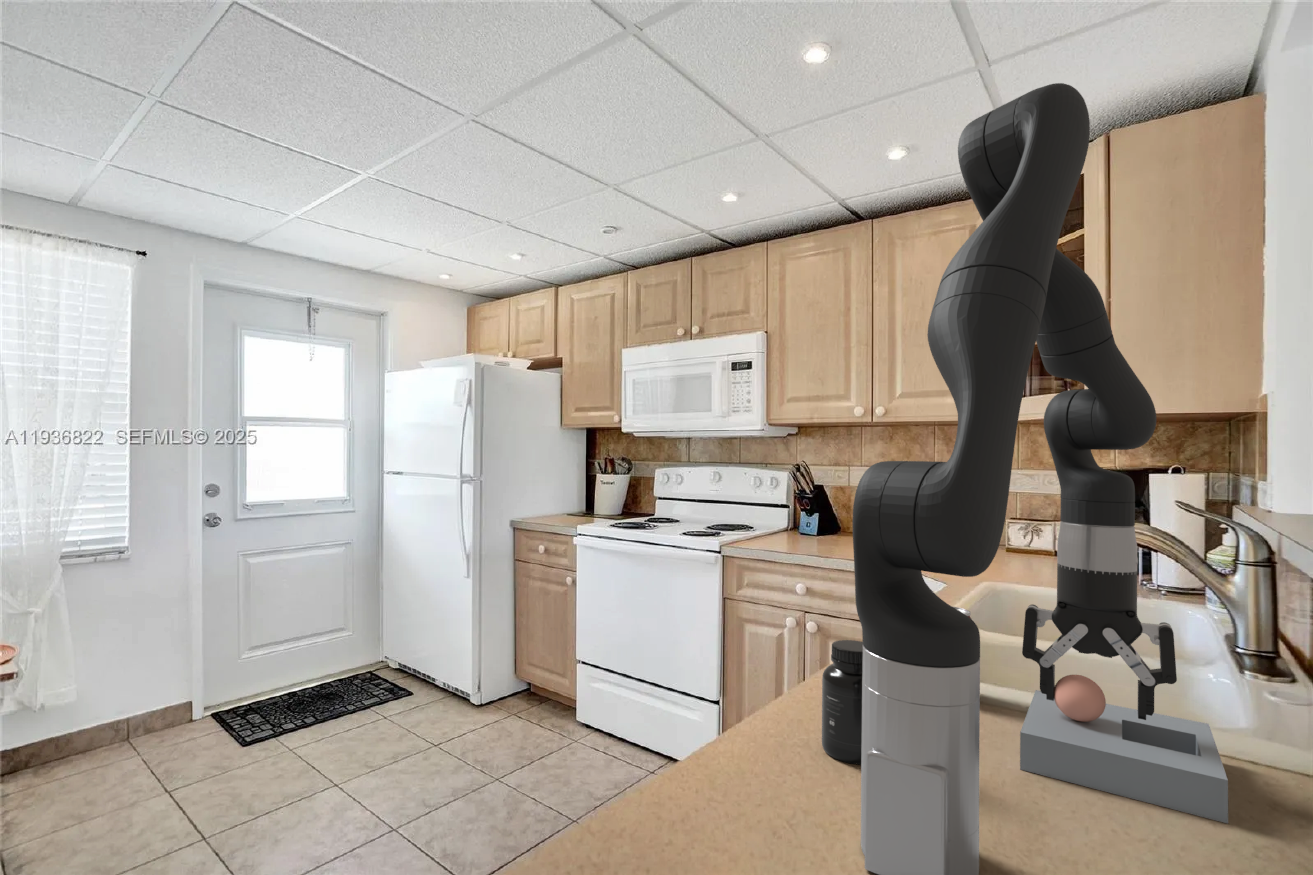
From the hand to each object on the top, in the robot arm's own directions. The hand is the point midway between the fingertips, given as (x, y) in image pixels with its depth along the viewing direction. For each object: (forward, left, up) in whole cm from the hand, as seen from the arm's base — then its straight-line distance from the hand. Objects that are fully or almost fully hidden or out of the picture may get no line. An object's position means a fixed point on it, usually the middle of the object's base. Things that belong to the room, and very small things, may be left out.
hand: (1094, 707), depth 73 cm
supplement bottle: (-15, +22, -6) cm, 28 cm away
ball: (0, +1, +1) cm, 2 cm away
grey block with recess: (0, -2, -6) cm, 6 cm away
